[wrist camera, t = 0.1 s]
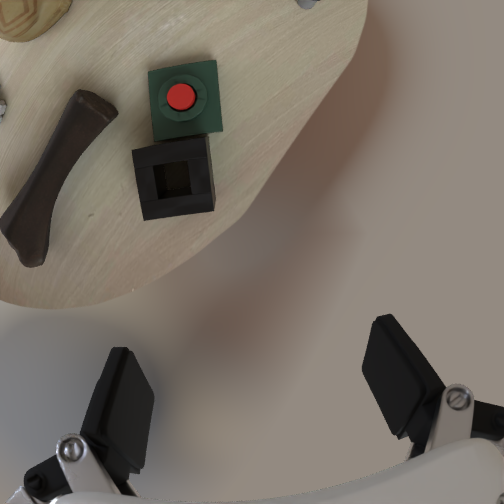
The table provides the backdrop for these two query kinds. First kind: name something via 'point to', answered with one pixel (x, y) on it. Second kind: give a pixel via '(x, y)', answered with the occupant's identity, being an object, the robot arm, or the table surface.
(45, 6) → the ceramic vessel
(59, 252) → the table surface
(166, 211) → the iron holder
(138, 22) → the table surface
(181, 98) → the power button
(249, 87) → the table surface
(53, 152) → the dark brown bone
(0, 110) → the white branched piece
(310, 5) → the soldering iron
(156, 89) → the station
